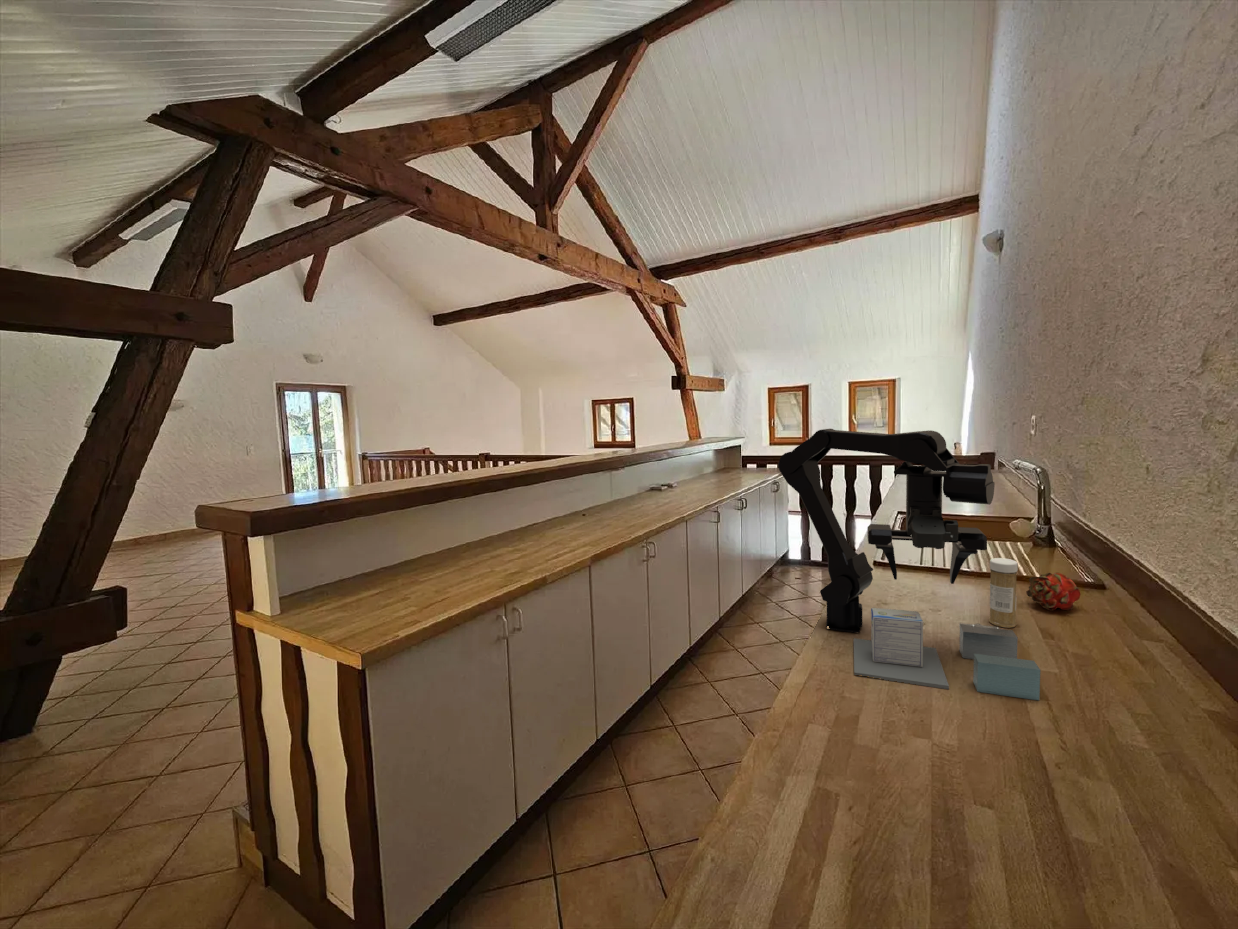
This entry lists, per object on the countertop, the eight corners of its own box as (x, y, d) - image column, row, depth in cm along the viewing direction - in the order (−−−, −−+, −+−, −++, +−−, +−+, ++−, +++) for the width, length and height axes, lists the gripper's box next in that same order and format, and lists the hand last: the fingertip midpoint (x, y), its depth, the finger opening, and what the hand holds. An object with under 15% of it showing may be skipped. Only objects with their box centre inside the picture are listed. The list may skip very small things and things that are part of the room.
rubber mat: (854, 675, 90) (854, 672, 90) (853, 641, 103) (853, 638, 102) (948, 689, 84) (948, 686, 84) (935, 651, 97) (935, 648, 97)
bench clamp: (977, 691, 83) (978, 662, 83) (953, 636, 102) (953, 611, 102) (1039, 700, 80) (1040, 669, 79) (1002, 641, 99) (1002, 616, 99)
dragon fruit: (1038, 621, 110) (1055, 614, 117) (1082, 607, 105) (1097, 600, 112) (1012, 584, 114) (1030, 579, 121) (1053, 568, 109) (1070, 564, 116)
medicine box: (919, 656, 94) (919, 610, 93) (923, 668, 90) (923, 620, 89) (870, 651, 97) (870, 606, 96) (872, 662, 93) (872, 616, 92)
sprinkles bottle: (1019, 624, 106) (1021, 560, 105) (1010, 630, 103) (1012, 565, 102) (994, 617, 110) (995, 555, 108) (984, 623, 107) (985, 560, 106)
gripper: (869, 506, 92) (869, 591, 94) (996, 509, 84) (994, 601, 86) (867, 495, 102) (867, 572, 104) (980, 497, 95) (978, 580, 96)
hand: (923, 581), depth 97 cm, fingers open, 9 cm apart
